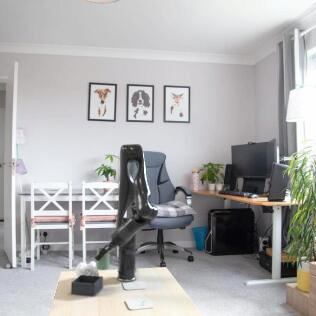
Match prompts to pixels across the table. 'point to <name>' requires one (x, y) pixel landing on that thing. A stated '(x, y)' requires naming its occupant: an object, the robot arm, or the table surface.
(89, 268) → the white knot sculpture
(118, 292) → the table surface
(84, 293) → the tub
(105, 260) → the cup
